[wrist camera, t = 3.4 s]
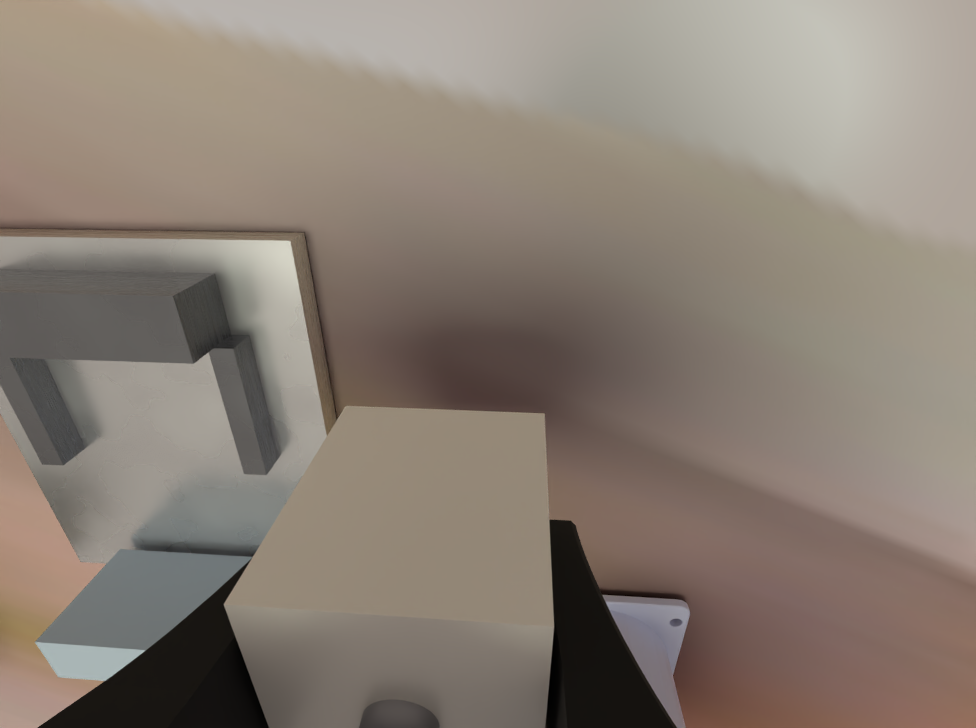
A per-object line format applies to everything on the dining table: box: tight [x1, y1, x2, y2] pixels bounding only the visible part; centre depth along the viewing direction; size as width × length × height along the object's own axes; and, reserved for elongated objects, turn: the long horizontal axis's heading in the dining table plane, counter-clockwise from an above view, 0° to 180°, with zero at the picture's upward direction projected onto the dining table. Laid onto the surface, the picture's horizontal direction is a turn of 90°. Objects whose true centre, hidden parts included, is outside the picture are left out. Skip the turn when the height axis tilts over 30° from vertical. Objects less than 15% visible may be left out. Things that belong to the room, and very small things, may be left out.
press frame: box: [0, 229, 337, 564], centre depth 17 cm, size 14×12×3 cm
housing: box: [224, 406, 554, 728], centre depth 10 cm, size 5×4×5 cm
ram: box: [35, 549, 252, 681], centre depth 19 cm, size 2×7×4 cm, turn 90°
